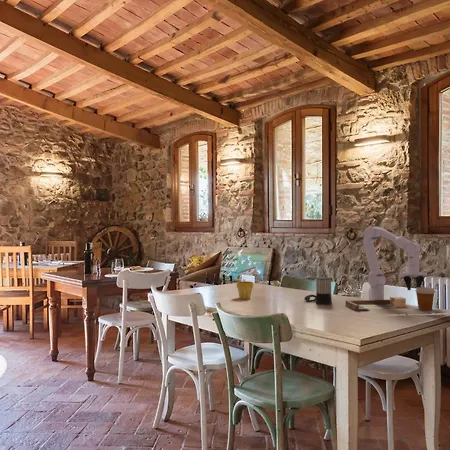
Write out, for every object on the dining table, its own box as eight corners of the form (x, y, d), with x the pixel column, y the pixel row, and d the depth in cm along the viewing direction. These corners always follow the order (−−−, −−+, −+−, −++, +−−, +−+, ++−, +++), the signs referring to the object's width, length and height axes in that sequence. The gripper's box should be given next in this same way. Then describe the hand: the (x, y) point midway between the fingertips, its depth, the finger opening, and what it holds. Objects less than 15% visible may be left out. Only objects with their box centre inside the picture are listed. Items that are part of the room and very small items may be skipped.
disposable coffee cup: (423, 313, 227) (423, 290, 227) (411, 310, 237) (411, 287, 237) (439, 312, 230) (439, 289, 230) (426, 309, 239) (426, 286, 239)
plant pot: (253, 296, 285) (253, 281, 285) (253, 299, 275) (252, 283, 275) (237, 296, 286) (237, 281, 286) (236, 299, 276) (236, 283, 276)
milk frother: (332, 305, 254) (332, 278, 254) (303, 304, 257) (303, 278, 257) (331, 300, 268) (331, 276, 268) (304, 300, 271) (304, 275, 271)
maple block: (390, 304, 247) (389, 296, 247) (400, 304, 248) (400, 296, 248) (395, 306, 241) (394, 298, 241) (405, 306, 242) (405, 298, 242)
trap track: (345, 305, 251) (345, 300, 251) (401, 304, 253) (401, 299, 253) (356, 311, 235) (356, 305, 235) (414, 309, 238) (414, 304, 238)
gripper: (404, 265, 241) (404, 291, 241) (430, 265, 242) (430, 290, 242) (398, 264, 248) (398, 289, 248) (423, 264, 249) (423, 288, 249)
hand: (413, 290), depth 245 cm, fingers open, 5 cm apart
